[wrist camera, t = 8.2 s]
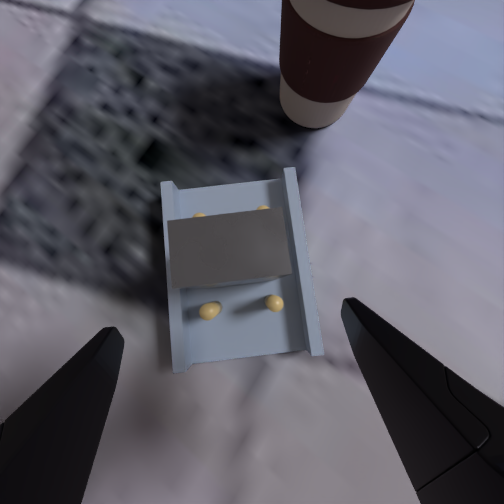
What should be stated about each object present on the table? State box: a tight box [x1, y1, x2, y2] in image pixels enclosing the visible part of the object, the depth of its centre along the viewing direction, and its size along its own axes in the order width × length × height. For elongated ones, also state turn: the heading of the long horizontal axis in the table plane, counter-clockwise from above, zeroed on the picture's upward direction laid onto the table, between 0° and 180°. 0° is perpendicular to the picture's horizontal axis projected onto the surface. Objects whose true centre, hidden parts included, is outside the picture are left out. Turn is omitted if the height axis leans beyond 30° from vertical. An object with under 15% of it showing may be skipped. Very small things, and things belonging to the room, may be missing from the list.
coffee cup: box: [279, 0, 415, 128], centre depth 18 cm, size 10×10×15 cm
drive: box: [167, 207, 292, 289], centre depth 17 cm, size 4×6×10 cm, turn 97°
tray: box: [161, 167, 324, 373], centre depth 20 cm, size 16×12×5 cm
